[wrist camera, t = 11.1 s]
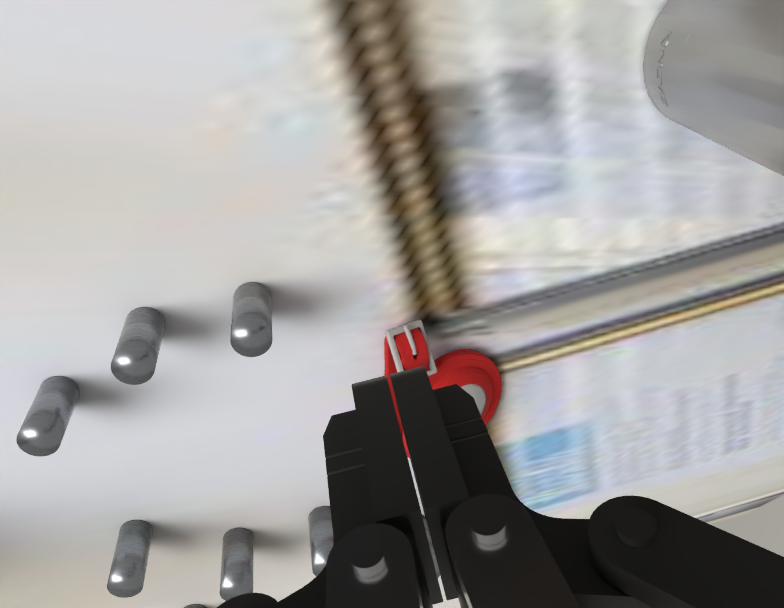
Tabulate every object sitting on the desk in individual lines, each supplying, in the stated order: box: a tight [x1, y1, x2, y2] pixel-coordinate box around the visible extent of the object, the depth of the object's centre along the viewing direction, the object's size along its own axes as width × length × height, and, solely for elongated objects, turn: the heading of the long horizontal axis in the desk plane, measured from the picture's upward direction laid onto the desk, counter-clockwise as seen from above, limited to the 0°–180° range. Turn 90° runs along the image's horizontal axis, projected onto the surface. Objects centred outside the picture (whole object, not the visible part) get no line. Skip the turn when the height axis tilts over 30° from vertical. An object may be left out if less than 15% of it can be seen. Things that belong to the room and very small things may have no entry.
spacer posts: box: [17, 282, 440, 608], centre depth 49 cm, size 23×31×5 cm
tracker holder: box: [384, 320, 502, 458], centre depth 48 cm, size 12×4×10 cm
